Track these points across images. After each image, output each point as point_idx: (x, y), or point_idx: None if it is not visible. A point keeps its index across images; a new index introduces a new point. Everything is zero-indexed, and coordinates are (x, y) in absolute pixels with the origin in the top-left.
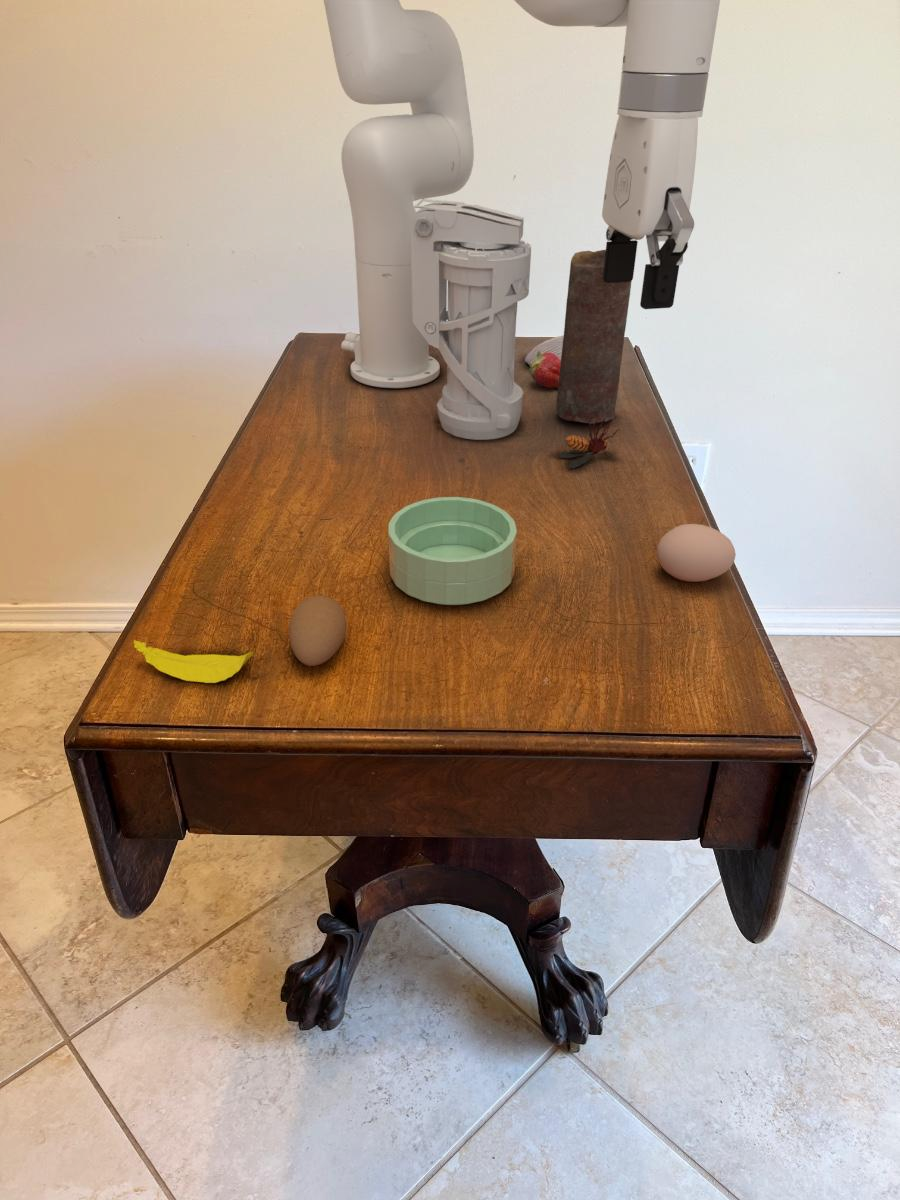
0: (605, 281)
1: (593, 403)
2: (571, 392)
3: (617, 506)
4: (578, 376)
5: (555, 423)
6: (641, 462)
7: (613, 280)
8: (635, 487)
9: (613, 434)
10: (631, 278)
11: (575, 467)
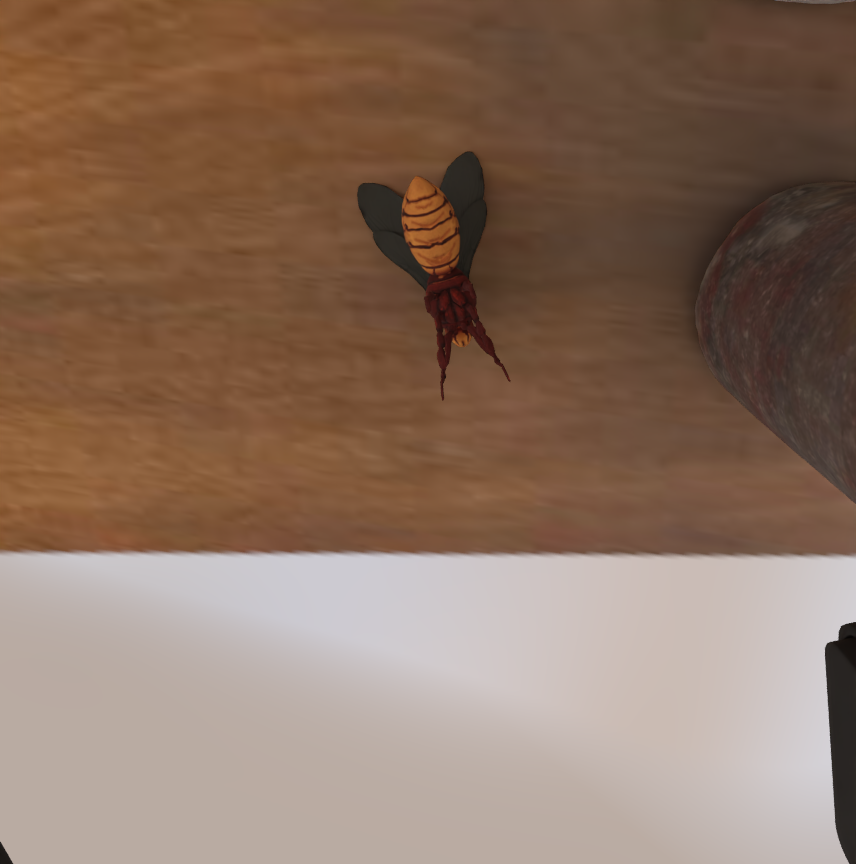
0: (842, 629)
1: (724, 333)
2: (785, 243)
3: (94, 320)
4: (802, 281)
5: (778, 174)
6: (424, 443)
7: (837, 703)
8: (237, 396)
9: (442, 373)
10: (849, 853)
11: (361, 210)
